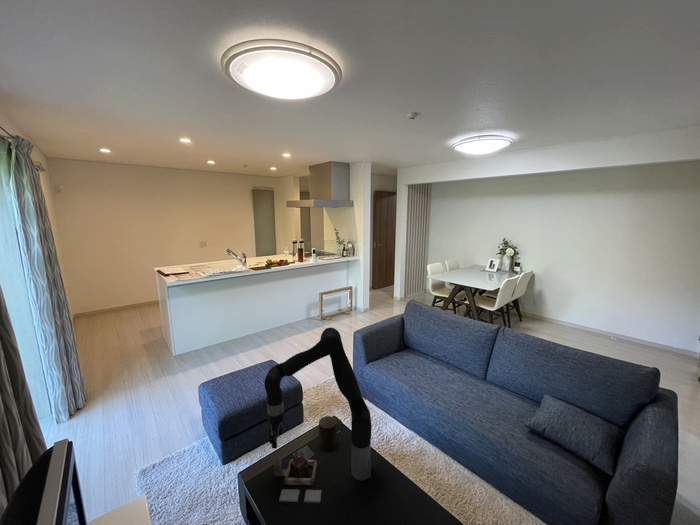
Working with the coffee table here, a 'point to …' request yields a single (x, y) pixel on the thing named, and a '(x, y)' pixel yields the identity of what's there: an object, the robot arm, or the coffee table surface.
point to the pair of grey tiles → (293, 495)
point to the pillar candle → (327, 433)
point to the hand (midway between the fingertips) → (277, 440)
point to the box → (298, 467)
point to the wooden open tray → (295, 481)
